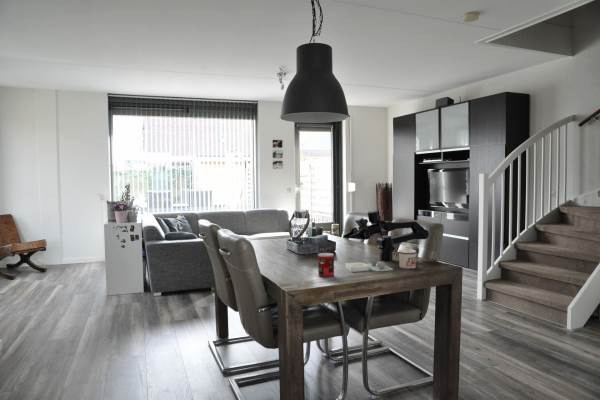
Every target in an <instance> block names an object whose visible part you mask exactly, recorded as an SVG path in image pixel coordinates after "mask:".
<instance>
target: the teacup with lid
mask: <svg viewBox="0 0 600 400" xmlns="http://www.w3.org/2000/svg"><path fill="white" fill-rule="evenodd" d="M398 255H399V257H398V258H399V259H398V260H399V268H401V269H415V268H417V262H418V260H419V254H418V253H417V251H416V250H415V249H413V248H411V247H410V246H409V245H406V246H405V247H403V249H400V250H399V251H398Z"/></svg>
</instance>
